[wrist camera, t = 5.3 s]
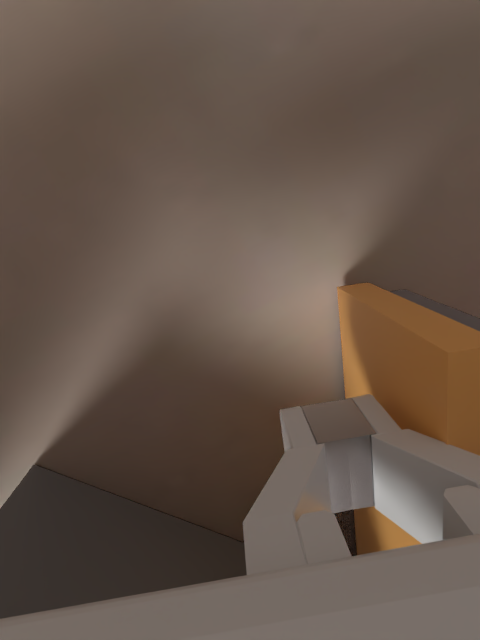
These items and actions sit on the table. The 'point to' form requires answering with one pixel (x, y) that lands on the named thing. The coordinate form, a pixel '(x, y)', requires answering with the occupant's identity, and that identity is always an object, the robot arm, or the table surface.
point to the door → (410, 378)
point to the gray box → (98, 547)
